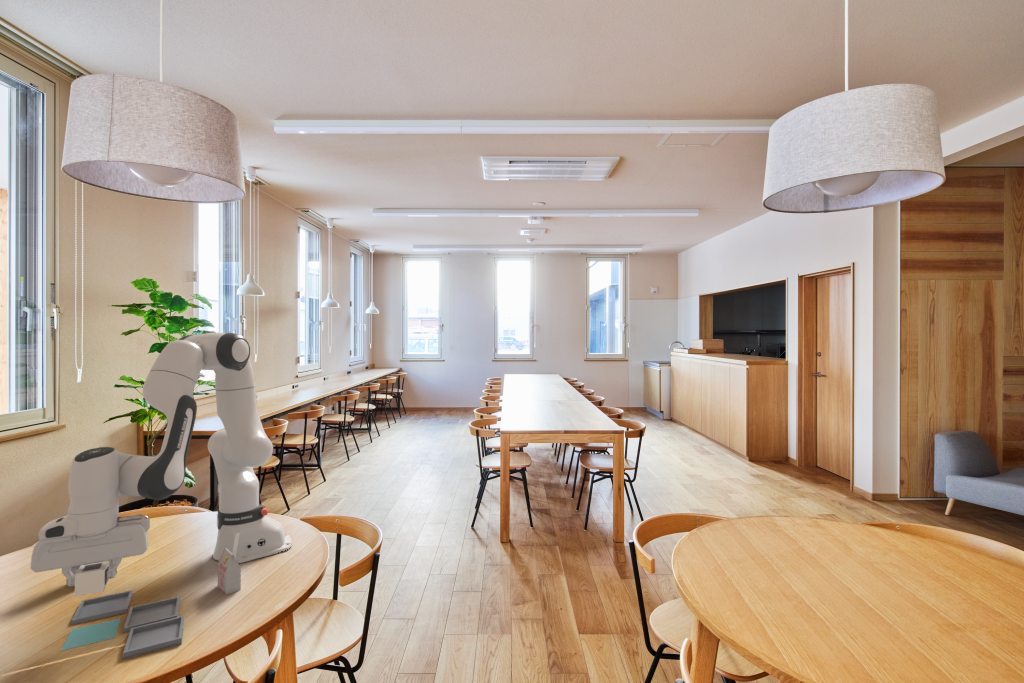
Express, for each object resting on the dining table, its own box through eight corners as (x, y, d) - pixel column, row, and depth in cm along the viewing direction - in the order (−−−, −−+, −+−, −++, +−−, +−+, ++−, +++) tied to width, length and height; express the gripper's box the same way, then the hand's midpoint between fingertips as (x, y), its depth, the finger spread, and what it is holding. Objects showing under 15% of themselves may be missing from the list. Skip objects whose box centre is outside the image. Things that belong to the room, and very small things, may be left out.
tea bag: (232, 581, 135) (232, 545, 135) (240, 589, 131) (240, 553, 131) (217, 585, 133) (217, 549, 133) (225, 594, 128) (225, 557, 128)
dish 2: (180, 601, 124) (180, 596, 124) (177, 621, 116) (177, 615, 116) (130, 612, 119) (130, 607, 119) (123, 634, 110) (123, 628, 110)
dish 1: (132, 595, 127) (132, 589, 127) (126, 614, 119) (126, 608, 119) (82, 605, 122) (82, 600, 122) (71, 626, 113) (71, 620, 113)
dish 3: (184, 621, 116) (184, 615, 116) (181, 644, 107) (181, 637, 107) (130, 634, 110) (131, 628, 110) (123, 659, 102) (123, 652, 102)
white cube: (109, 581, 113) (109, 560, 113) (104, 591, 109) (105, 568, 109) (80, 587, 111) (80, 564, 111) (74, 597, 106) (75, 573, 106)
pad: (121, 619, 116) (121, 618, 116) (114, 639, 108) (114, 637, 108) (72, 630, 112) (72, 629, 112) (60, 652, 104) (60, 650, 104)
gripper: (151, 508, 118) (150, 565, 118) (38, 524, 107) (36, 585, 107) (148, 517, 113) (147, 576, 113) (28, 533, 102) (27, 598, 102)
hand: (92, 581), depth 110 cm, fingers closed on white cube, 5 cm apart
